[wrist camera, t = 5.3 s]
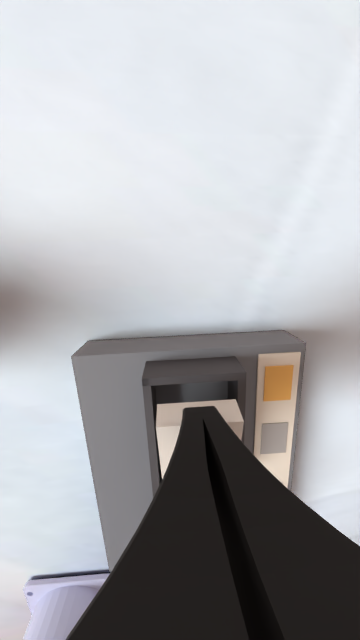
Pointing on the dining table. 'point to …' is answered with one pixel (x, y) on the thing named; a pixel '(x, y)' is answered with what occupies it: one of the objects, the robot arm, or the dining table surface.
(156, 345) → the switch panel
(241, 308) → the dining table surface
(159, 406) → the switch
